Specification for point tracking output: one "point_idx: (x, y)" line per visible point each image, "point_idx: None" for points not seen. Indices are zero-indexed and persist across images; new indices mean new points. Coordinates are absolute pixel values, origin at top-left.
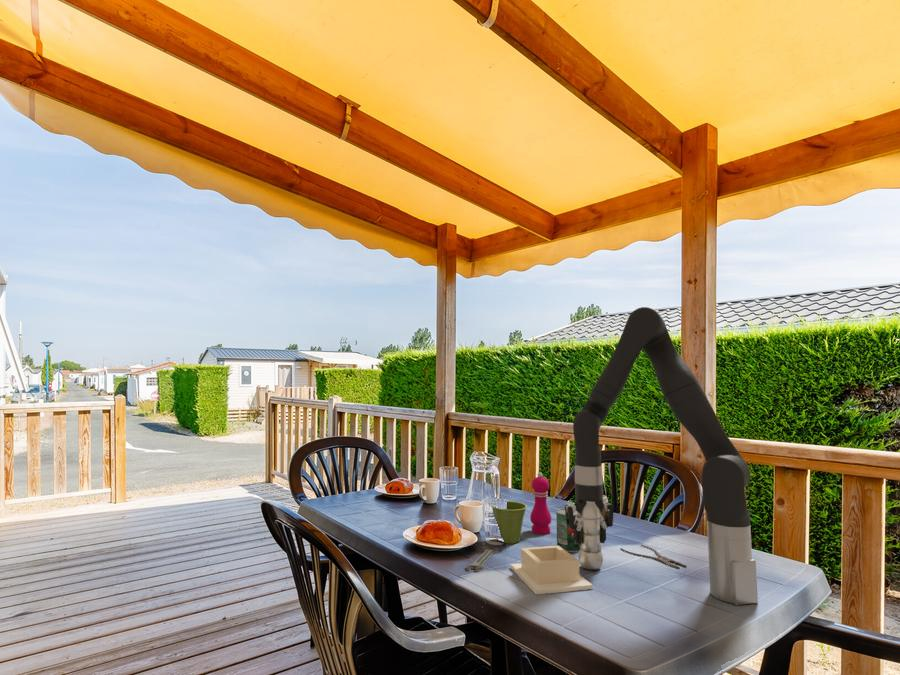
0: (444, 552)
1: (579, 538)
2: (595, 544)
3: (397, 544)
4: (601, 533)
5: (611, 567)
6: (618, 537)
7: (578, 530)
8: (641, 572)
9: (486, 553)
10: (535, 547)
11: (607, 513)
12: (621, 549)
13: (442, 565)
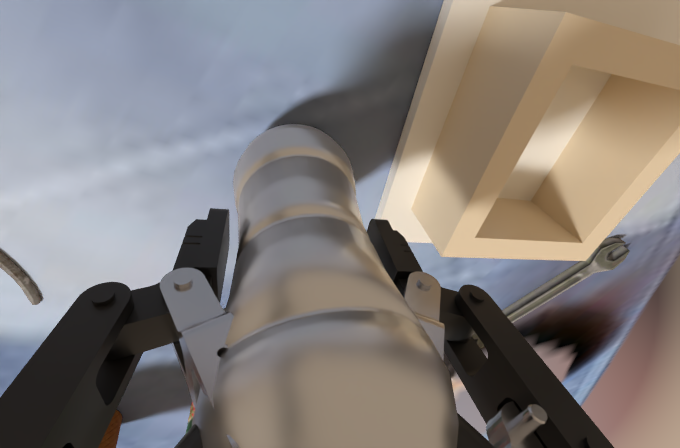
0: (555, 340)
1: (394, 240)
2: (306, 182)
3: (580, 375)
4: (221, 254)
5: (189, 145)
6: (3, 384)
7: (421, 274)
8: (28, 17)
9: (509, 319)
10: (539, 257)
11: (78, 430)
12: (37, 296)
13: (627, 285)
